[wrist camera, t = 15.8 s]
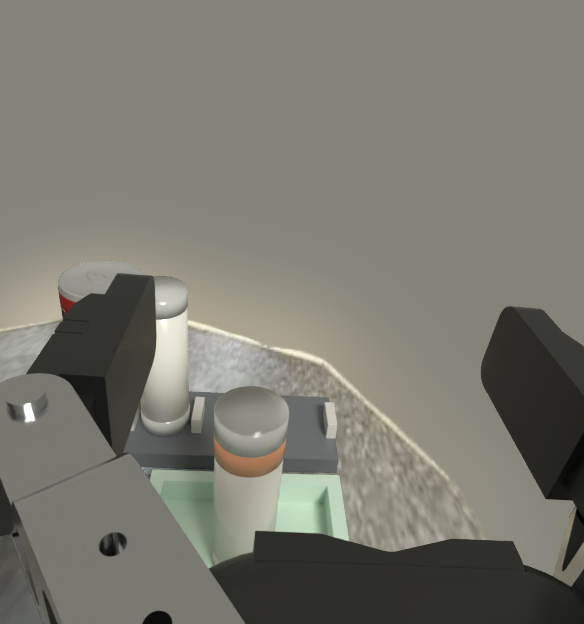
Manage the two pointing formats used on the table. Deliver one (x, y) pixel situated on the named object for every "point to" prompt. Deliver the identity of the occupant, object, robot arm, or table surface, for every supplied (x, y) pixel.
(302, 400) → the clip block
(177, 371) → the plain fuse
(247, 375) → the table surface
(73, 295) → the canned food
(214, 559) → the cylinder
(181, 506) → the tray
